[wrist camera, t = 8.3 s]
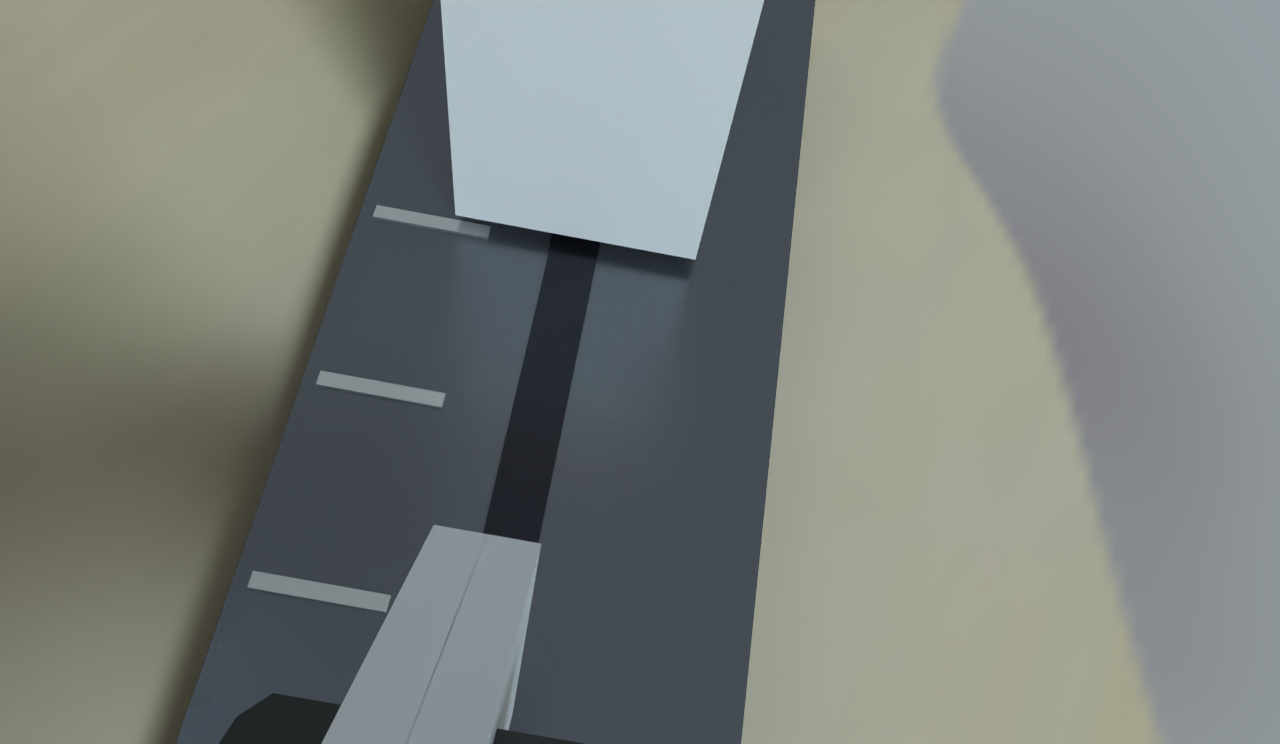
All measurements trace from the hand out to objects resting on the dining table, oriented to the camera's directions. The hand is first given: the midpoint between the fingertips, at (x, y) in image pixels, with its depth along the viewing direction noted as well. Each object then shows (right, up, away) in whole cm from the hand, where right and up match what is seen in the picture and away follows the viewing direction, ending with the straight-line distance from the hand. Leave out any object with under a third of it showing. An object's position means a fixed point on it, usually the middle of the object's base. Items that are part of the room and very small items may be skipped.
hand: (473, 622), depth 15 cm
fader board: (0, +2, +7) cm, 7 cm away
